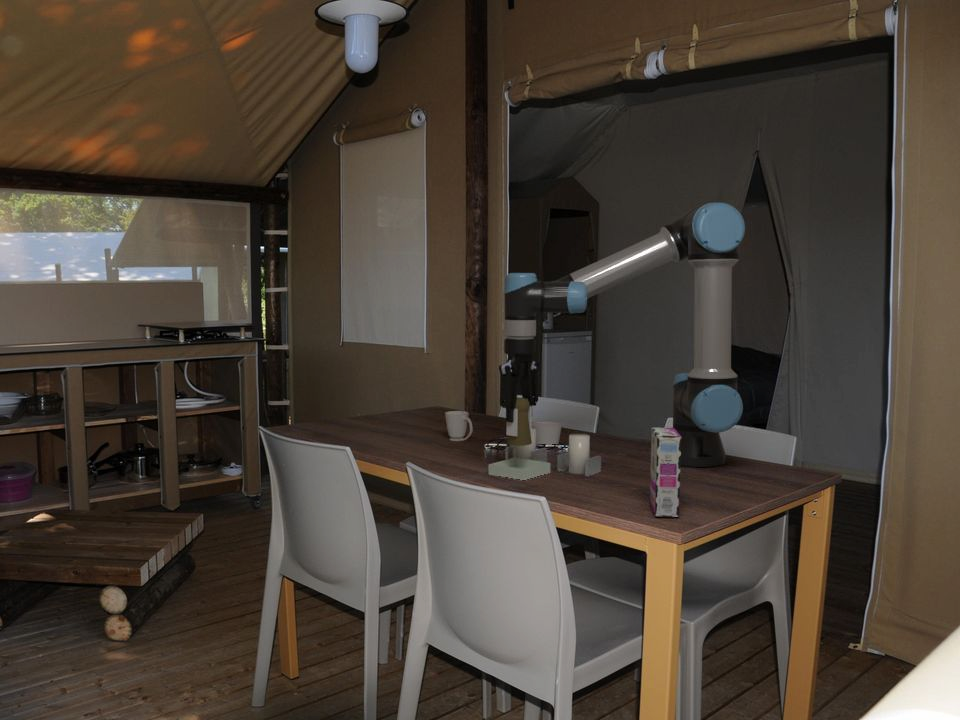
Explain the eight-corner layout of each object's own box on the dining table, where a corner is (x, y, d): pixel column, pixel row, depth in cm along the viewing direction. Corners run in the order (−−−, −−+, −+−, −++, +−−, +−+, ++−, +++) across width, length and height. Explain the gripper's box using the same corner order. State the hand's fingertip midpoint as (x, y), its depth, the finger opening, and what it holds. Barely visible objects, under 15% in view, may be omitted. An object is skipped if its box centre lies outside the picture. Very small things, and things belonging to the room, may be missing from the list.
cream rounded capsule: (539, 462, 219) (539, 428, 218) (528, 466, 215) (528, 430, 214) (523, 460, 222) (524, 426, 221) (512, 463, 218) (512, 428, 217)
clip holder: (600, 472, 208) (601, 455, 208) (587, 476, 204) (588, 459, 203) (519, 459, 224) (519, 444, 223) (505, 462, 219) (505, 447, 219)
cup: (458, 436, 257) (457, 410, 256) (480, 441, 250) (480, 413, 249) (440, 439, 252) (440, 412, 251) (462, 444, 245) (462, 416, 244)
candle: (561, 443, 245) (561, 422, 245) (561, 449, 236) (561, 427, 236) (530, 443, 246) (530, 421, 246) (529, 449, 237) (529, 426, 237)
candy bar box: (680, 519, 167) (682, 436, 165) (654, 518, 167) (656, 436, 166) (673, 504, 178) (674, 426, 176) (649, 503, 178) (650, 426, 177)
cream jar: (593, 471, 209) (593, 435, 208) (582, 474, 205) (582, 438, 204) (575, 468, 212) (576, 433, 211) (564, 472, 208) (565, 435, 207)
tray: (550, 473, 207) (550, 462, 207) (524, 480, 199) (524, 470, 199) (515, 467, 214) (515, 457, 214) (488, 474, 206) (488, 464, 205)
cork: (514, 446, 202) (513, 401, 201) (502, 442, 207) (501, 397, 206) (536, 443, 205) (536, 398, 203) (524, 439, 210) (523, 395, 209)
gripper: (529, 335, 213) (528, 427, 215) (484, 338, 199) (483, 437, 201) (554, 336, 208) (553, 430, 210) (509, 340, 194) (508, 440, 196)
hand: (519, 433), depth 205 cm, fingers closed on cork, 5 cm apart
